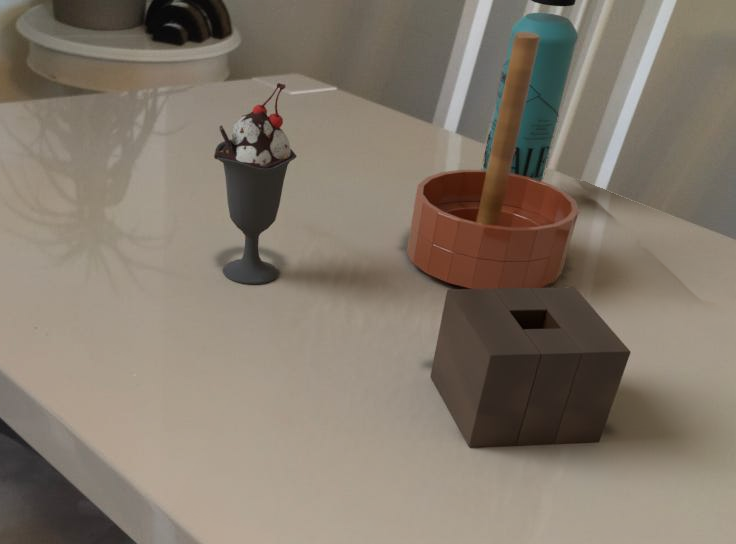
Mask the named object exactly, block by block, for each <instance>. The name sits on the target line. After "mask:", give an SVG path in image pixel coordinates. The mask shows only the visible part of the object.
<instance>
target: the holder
mask: <svg viewBox="0 0 736 544" xmlns="http://www.w3.org/2000/svg"><path fill="white" fill-rule="evenodd" d="M617 335H618V334H616V333H615V332H614V330H612V328H611V327H610V326H609V325H608V323H607V322H605V320H604V319H603V318H602V317H601V316H600V315H599V313H598V312H597V311H596V310H595V309H594V308H593V306H592V305H591V304H590V303H589V302H588V301H587V299H585V297H584V296H583V295H582V294H581V292H579V291H578V289H577V288H576V287H575V286H565V287H563V286H562V287H561V286H558V287H557V286H556V287H542V288H497V289H470V288H456V289H455V288H454V289H453V288H452V289H447V290H446V294H445V299H444V305H443V309H442V316H441V319H440V325H439V330H438V335H437V341H436V345H435V351H434V356H433V359H432V360H433V361H432V365H431V371H430V379H431V382H432V383H433V384H434V386H435V388H436V390H437V392H438V393H439V396H440V397H441V399H442V402H443V403H444V405H445V406H446V408H447V410H448V412H449V413H450V415H451V417H452V419H453V421H454V423H455V425H456V427H457V428H458V430H459V432H460V433H461V435H462V437H463V439H464V441H465V443H466V444H467V446H468V448H481V447H483V448H485V447H507V446H509V447H510V446H535V445H555V444H576V443H579V444H581V443H599V442H601V439H602V436H603V434H604V430H605V428H606V424H607V421H608V418H609V416H610V413H611V410H612V407H613V404H614V402H615V399H616V396H617V393H618V390H619V387H620V385H621V381H622V378H623V375H624V372H625V369H626V367H627V364H628V361H629V359H630V355H631V350H630V349H629V347H627V346H626V345H625V343H624V342H623V341H622V340H621V339H620V337H619V336H617Z"/></svg>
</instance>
